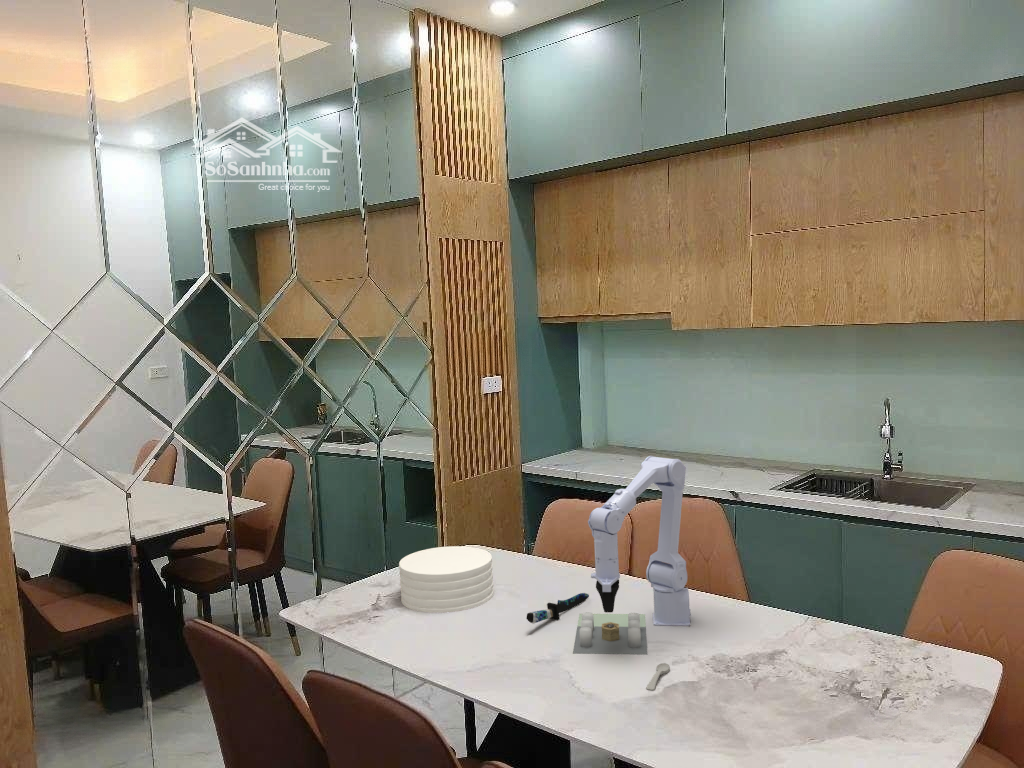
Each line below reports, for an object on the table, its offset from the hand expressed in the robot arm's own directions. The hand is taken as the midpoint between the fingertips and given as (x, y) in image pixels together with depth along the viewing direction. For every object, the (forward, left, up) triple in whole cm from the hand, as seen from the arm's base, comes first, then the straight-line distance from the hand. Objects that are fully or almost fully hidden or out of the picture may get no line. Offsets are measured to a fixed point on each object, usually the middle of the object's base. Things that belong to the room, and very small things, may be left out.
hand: (608, 610), depth 190 cm
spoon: (-11, +16, -10) cm, 22 cm away
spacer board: (0, -9, -9) cm, 13 cm away
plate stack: (+50, -36, -10) cm, 62 cm away
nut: (0, -6, -9) cm, 11 cm away
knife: (+14, -21, -10) cm, 27 cm away
